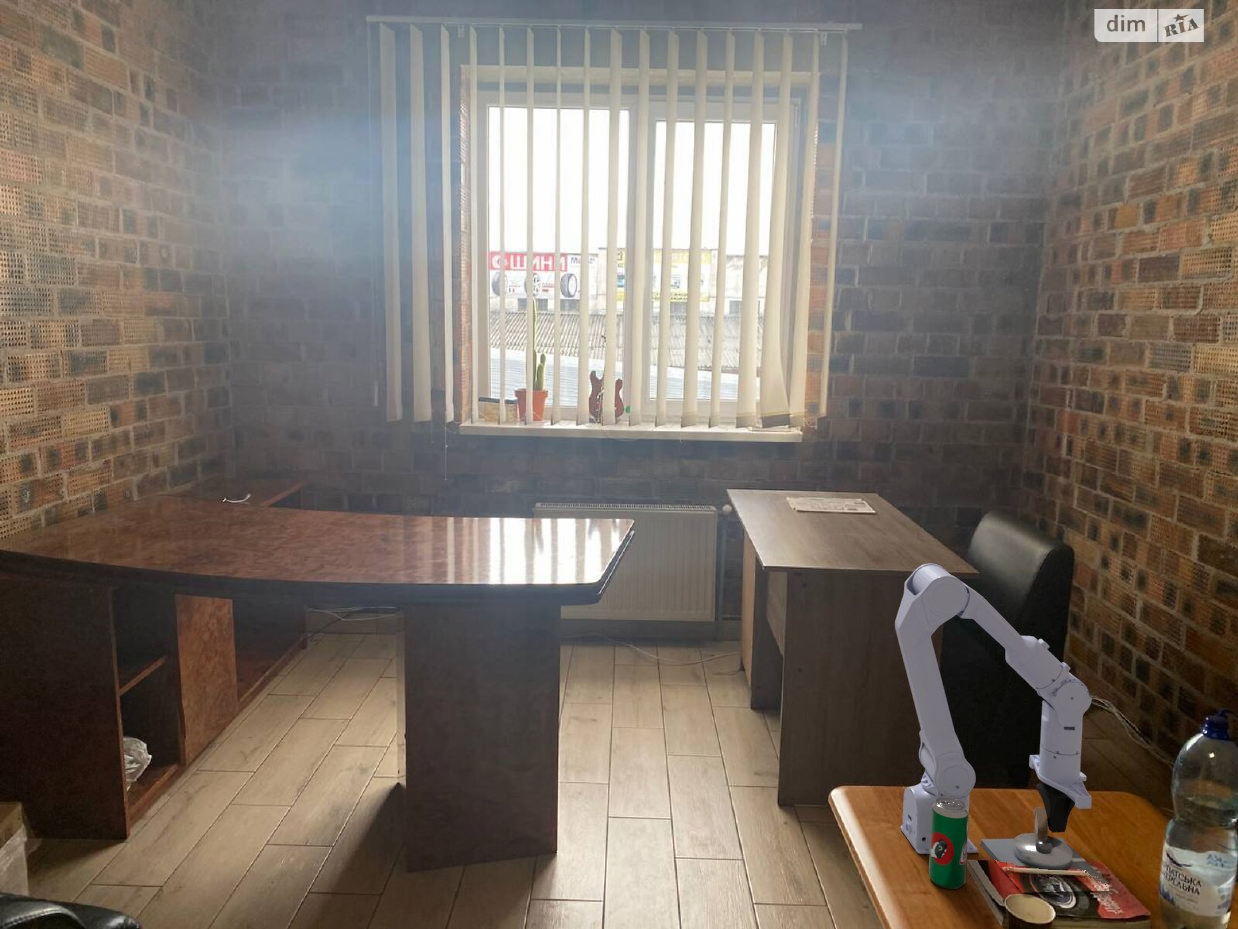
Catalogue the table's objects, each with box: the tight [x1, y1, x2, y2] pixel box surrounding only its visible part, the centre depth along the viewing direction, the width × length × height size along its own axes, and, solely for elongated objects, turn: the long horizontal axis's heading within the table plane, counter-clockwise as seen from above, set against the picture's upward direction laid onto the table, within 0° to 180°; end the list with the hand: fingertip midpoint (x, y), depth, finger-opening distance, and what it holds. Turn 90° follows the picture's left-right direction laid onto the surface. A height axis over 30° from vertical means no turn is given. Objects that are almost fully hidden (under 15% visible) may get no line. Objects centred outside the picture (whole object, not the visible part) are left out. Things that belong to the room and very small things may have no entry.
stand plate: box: [980, 837, 1111, 886], centre depth 134 cm, size 13×13×1 cm
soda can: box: [928, 797, 970, 890], centre depth 130 cm, size 5×5×12 cm
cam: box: [1013, 806, 1072, 870], centre depth 138 cm, size 14×8×4 cm, turn 157°
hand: (1056, 830), depth 140 cm, fingers closed, pressing on cam
